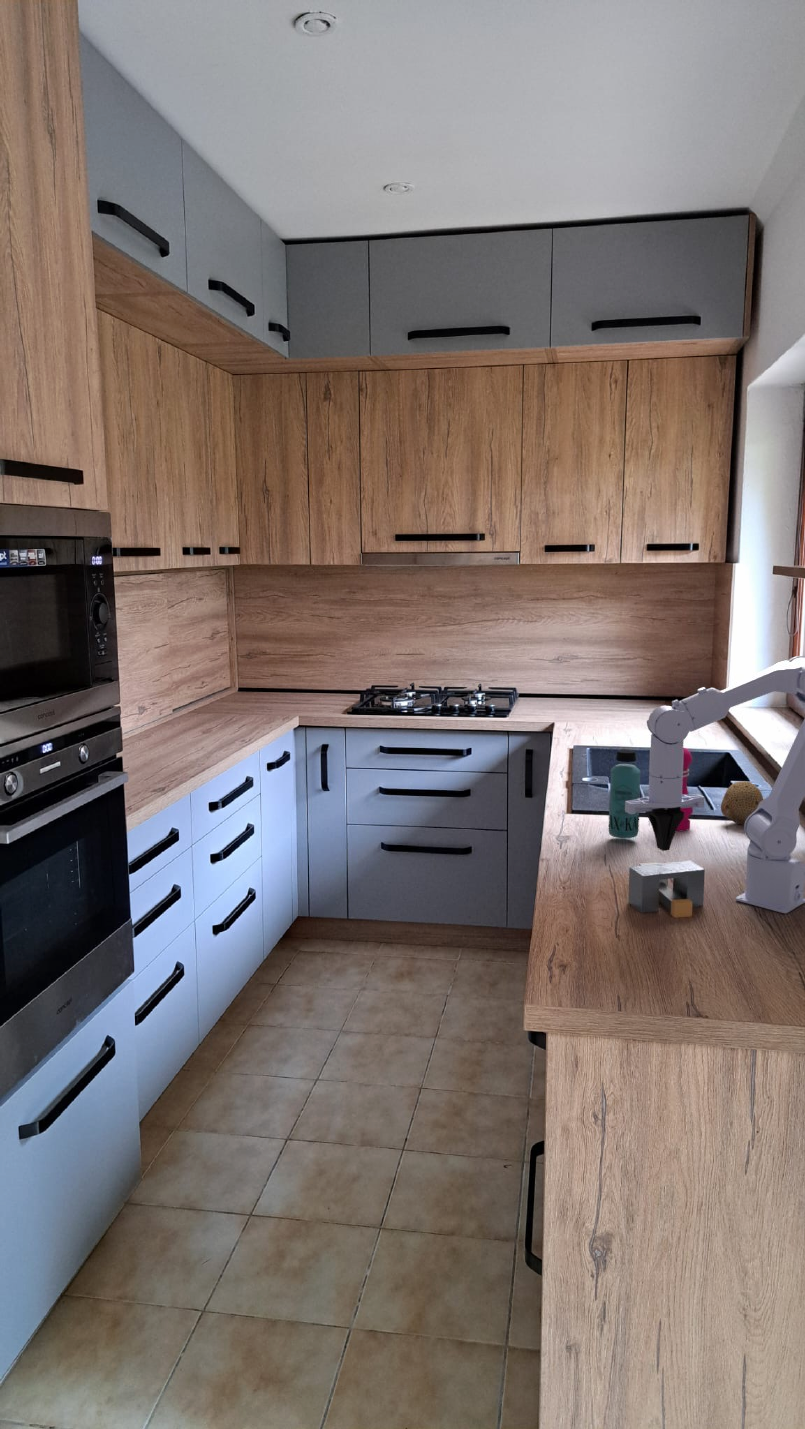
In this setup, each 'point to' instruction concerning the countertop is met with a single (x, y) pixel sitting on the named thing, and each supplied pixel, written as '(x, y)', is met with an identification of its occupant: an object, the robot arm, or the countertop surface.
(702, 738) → the countertop surface
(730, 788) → the natural sponge
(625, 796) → the beverage bottle
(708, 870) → the countertop surface
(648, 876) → the housing
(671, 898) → the plug
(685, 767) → the pepper mill
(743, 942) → the countertop surface
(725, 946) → the countertop surface
